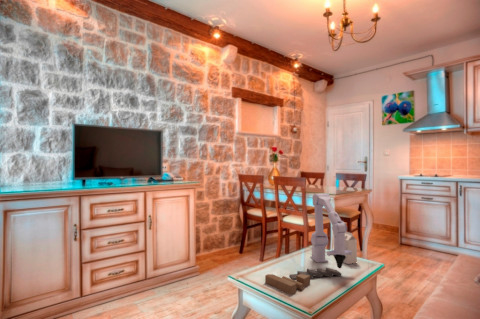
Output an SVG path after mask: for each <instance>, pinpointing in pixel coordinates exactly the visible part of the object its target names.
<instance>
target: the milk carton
mask: <svg viewBox="0 0 480 319" xmlns="http://www.w3.org/2000/svg"><path fill="white" fill-rule="evenodd" d="M357 244H358V239H357V238H356V237H355V236H354V235H353V233H352V232H350V231H347V232H345V250H350V251H352V255H350V254H348V255H345V256H346V258H345V260H344V261H343V263H344V264H346V265H350V264H352V263H353V264H357V263H358V262H357V260H358V248H357V247H358V245H357ZM356 262H357V263H356ZM353 264H352V265H353Z"/></svg>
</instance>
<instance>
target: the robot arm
mask: <svg viewBox="0 0 480 319" xmlns="http://www.w3.org/2000/svg"><path fill="white" fill-rule="evenodd" d="M311 199H312V206H314V207H313V208H314V221H315V222H314V224H315V225H314V226H315V231H314V232H312V233H311V238H310V242H311V245H312V246H311V256H310V259H312V260H313V261H314V262H316V263H326V262H328V261H329V260H327V259H326V255H327V256H328V257H330V256H333V257H334V260H335V263H336V266H337V268H338V269H342V267H343V263H344V262H343V261H344V260H345V258H346V256H345V255H348V254H350V255H352V251H350V250H345V232H348V226H347V223H346V222H344V220H342V218H341V217H340V215H339V214H338V212H336V211H335V210H334V208H333V206H332V203H331V196H330V194H329V193H328V192H327V193H324V192H323V193H322V192H321V193H317V192H316V193H313V195H312V198H311ZM323 208H324V209H325V210H326V211H327V213H328V216H327V217H328V219H329V221H330V223H331V225H332V227H331V228H332V234H333V250H329V251H326V248H327V246H328V244H329V238H328V234H327V233H326V232H325V231H324V213H323V212H324V209H323Z"/></svg>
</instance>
